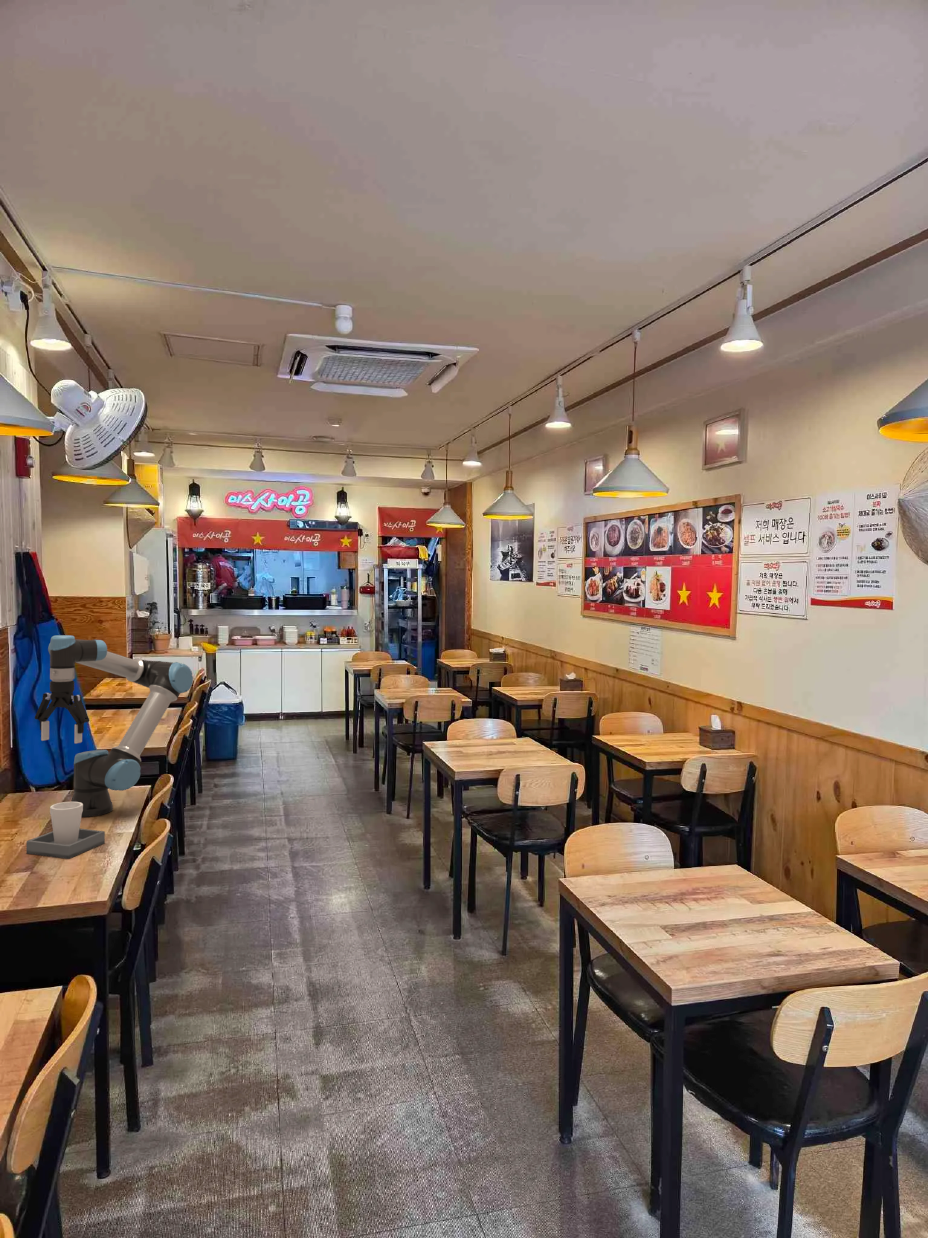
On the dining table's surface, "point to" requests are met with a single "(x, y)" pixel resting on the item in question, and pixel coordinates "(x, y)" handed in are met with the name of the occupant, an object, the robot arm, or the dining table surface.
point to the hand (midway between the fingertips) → (61, 741)
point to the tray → (49, 848)
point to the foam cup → (66, 821)
